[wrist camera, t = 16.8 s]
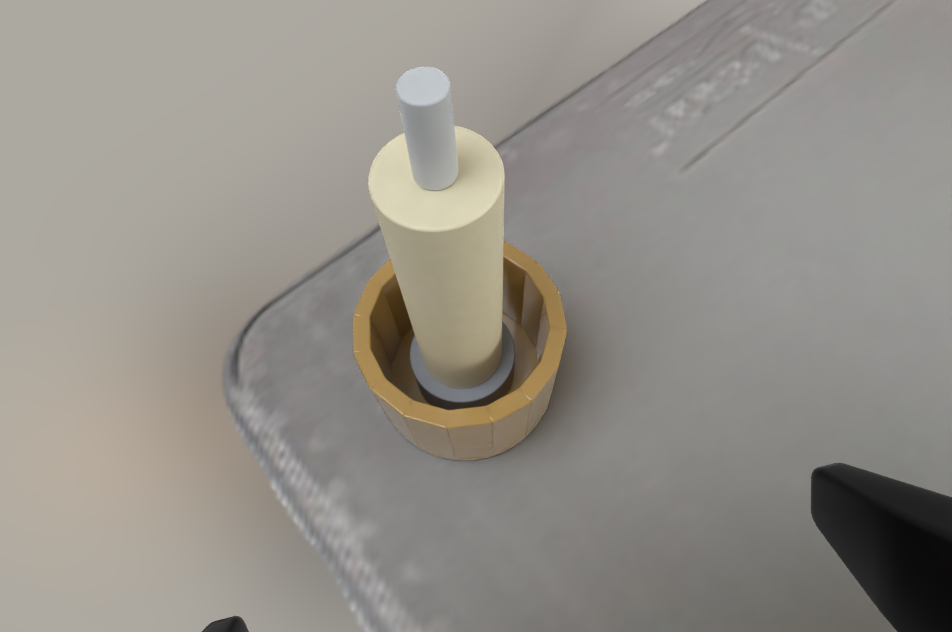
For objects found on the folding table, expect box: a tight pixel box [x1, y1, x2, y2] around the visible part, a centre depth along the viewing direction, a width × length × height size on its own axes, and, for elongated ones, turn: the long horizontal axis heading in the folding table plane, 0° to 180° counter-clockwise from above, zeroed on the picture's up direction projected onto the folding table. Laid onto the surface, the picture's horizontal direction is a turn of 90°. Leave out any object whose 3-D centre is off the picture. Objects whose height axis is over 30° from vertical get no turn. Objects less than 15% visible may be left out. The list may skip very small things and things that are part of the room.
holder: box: [353, 241, 567, 461], centre depth 21 cm, size 7×7×5 cm
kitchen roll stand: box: [368, 67, 515, 410], centre depth 17 cm, size 4×4×14 cm
